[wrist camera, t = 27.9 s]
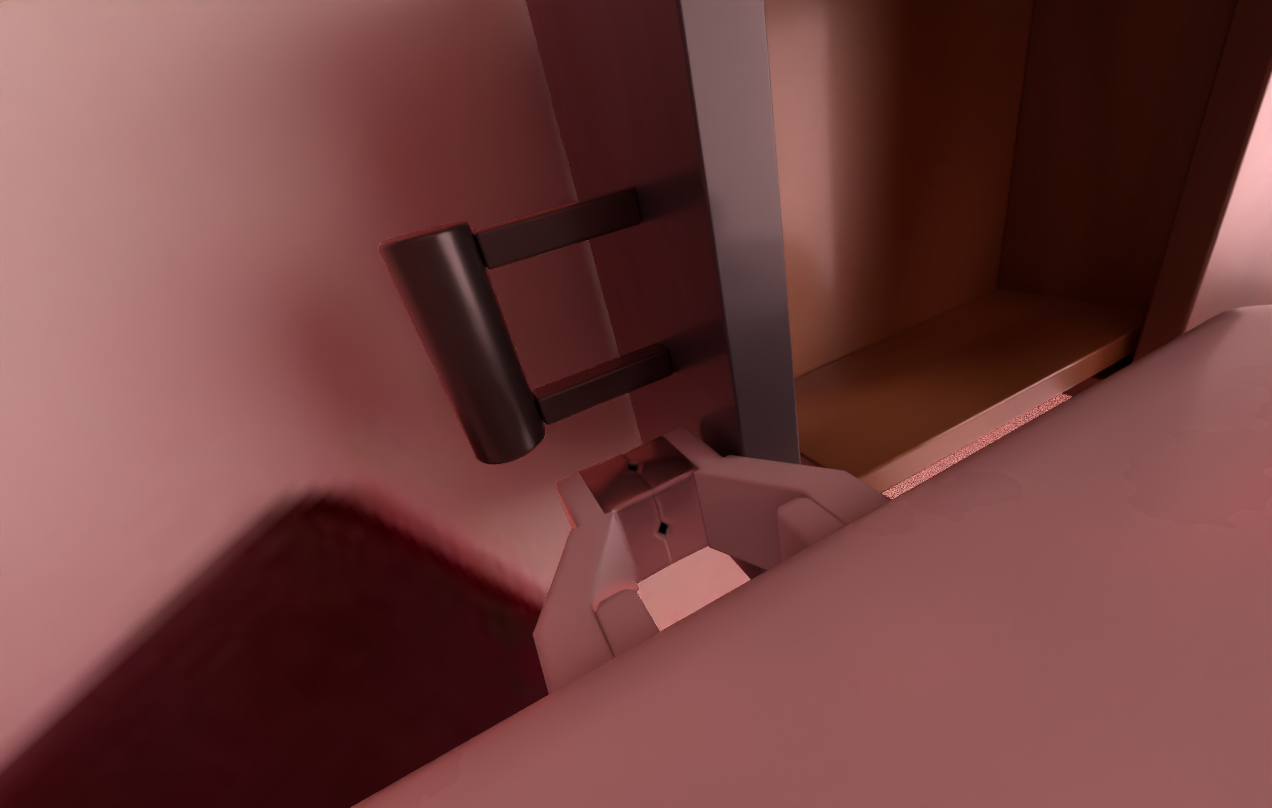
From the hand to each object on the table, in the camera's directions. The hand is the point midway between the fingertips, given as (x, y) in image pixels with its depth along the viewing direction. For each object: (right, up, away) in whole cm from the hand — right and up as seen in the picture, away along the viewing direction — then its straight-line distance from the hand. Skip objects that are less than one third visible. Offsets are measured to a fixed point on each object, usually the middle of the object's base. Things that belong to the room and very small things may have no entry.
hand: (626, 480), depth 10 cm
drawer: (+4, +7, +3) cm, 9 cm away
